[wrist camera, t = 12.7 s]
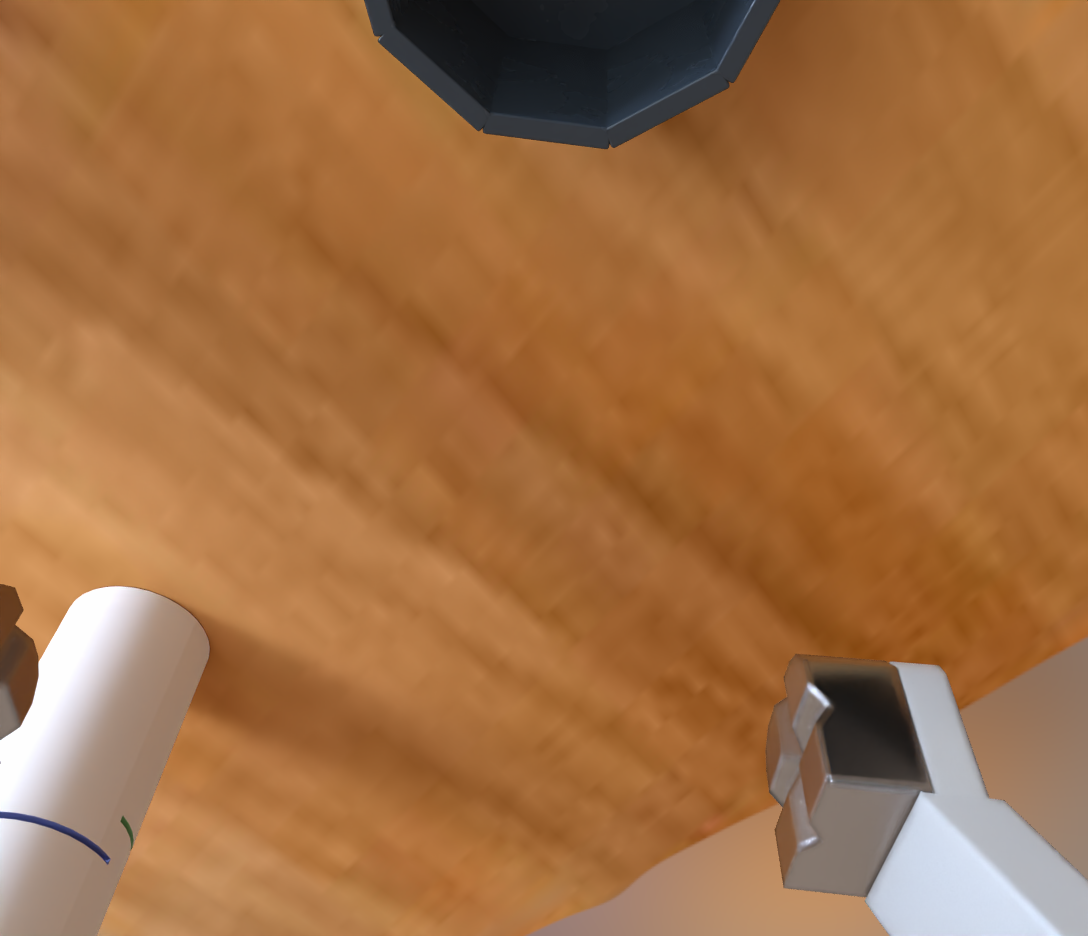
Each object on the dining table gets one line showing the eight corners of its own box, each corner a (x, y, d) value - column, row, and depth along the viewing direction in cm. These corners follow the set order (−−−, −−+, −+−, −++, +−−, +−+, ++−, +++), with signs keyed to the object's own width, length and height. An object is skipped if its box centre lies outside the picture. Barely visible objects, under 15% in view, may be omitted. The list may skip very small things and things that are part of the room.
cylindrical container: (152, 570, 50) (-150, 1170, 30) (237, 665, 54) (18, 1252, 34) (36, 608, 52) (-319, 1194, 32) (126, 697, 56) (-142, 1268, 36)
